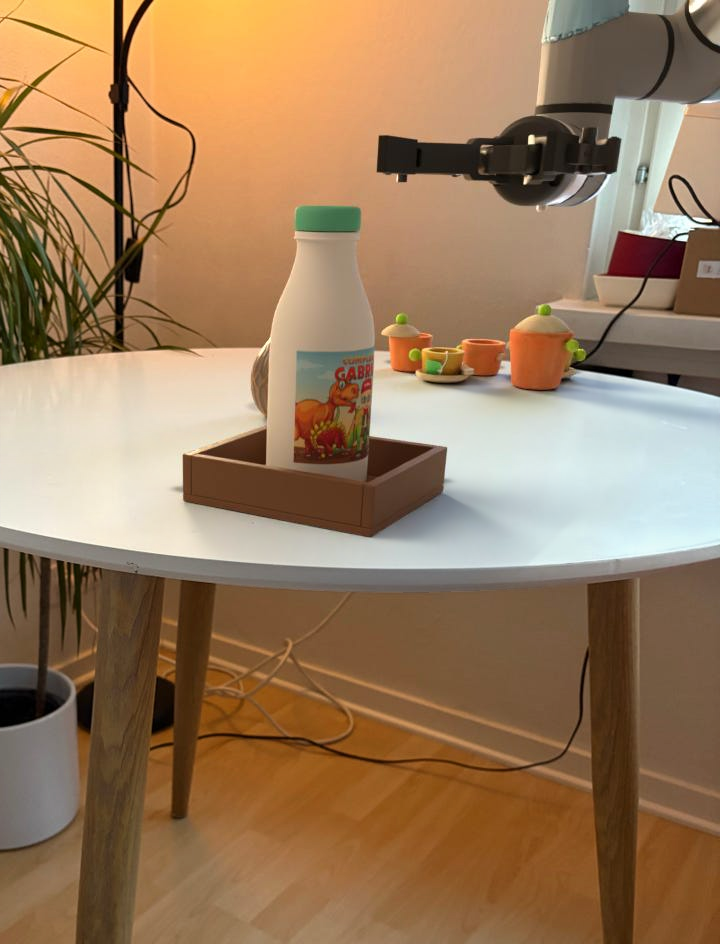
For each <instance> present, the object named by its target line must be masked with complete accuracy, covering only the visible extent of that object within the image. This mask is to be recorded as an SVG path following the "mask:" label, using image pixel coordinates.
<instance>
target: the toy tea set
mask: <svg viewBox="0 0 720 944" xmlns="http://www.w3.org/2000/svg"><path fill="white" fill-rule="evenodd" d="M408 318H409V317H408V316H407V314H405V313H399V314H398V315H396V318H395V322H396V323H394V324H391V325H388V326H386V327H385V328H384V329H383V330H382V331H381V336H383V337H384V336H385V337H388V343H389V358H390V368H391V369H392V370H395V371H398V372H407V373H408V372H409V373H414V372H415V376H416V377H417V378H419V379H421V380H423V381H426V382H432V383H440V384H453V383H459V382H462V381H465V380H468V379H469V378H470V376H481V377H483V376H484V377H485V376H487V377H488V376H495V375H497V374H498V373H499V372H500V368H501V364H502V361H505V360H507V357H508V355H507V353H505V349H506V350H508V351H509V353H510V382H511V385H512V386H514V387H516V388H519V389H524V390H535V391H548V390H554V389H557V388H558V387H560V386H561V385H560V384H561V382H562V379H567V378H570V377H574V376H575V375H576V374H577V370H576V369H575V368H574V367H571V364H572V361H573V360H575V361H576V362H582V361H584V360H585V359H586V357H587V352H586V350H585V349H583V348H579V346H580V343H579V342H578V340H576V339H574V337H575V332H574V330H572V329H570V328H569V326H568V324H567V323H566V322H565V321H563V320H562V319H561V318H559V317H558V316H556V315H553V314H552V307H551V305H549V304H547V303H544V304H541V305H540V306H539V307H538V310H537V314H533V315H530V316H528V317H526V318H524V319H523V320H521V321H520V322H519V323H518V324H517V325H516V326H515V327H512V328H511V329H510V331H509V340H508V341H507V343H506V342H505V341H503V340H502V341H501V340H496V339H487V338H468V339H463V340H462V341H461V344H459V345H457V346H456V348H454V347H443V346H442V347H440V346H438V347H435V346H434V347H433V346H432V343H433V338H434V336H433V334H430V333H424V332H420V331H419V330H418V329H417V328H416V327H414V326H413V325H410V324H408V322H409V319H408Z"/></svg>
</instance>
